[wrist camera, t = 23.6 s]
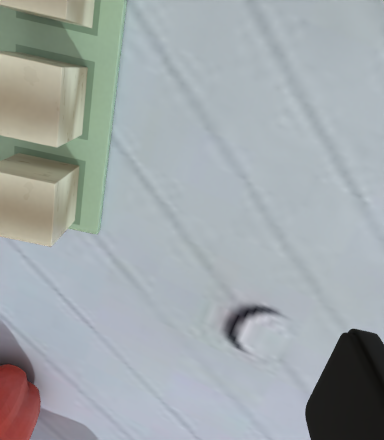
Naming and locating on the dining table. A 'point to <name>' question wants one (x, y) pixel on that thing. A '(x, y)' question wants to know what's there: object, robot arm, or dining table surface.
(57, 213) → the tile
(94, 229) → the word board
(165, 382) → the dining table surface
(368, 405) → the robot arm
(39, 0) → the tile
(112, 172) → the dining table surface
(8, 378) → the vegetable
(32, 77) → the tile
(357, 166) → the dining table surface
